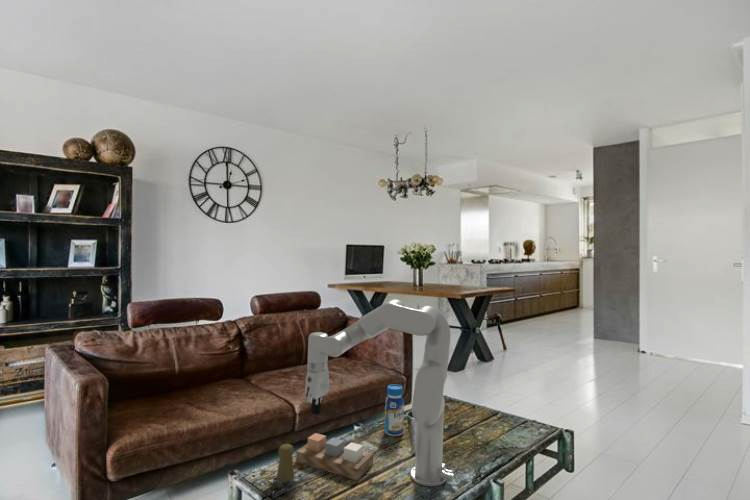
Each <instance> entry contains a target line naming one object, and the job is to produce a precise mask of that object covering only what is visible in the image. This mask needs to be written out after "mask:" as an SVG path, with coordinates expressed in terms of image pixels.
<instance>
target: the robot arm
mask: <svg viewBox="0 0 750 500" xmlns="http://www.w3.org/2000/svg"><path fill="white" fill-rule="evenodd" d="M389 329H392V330H395V331H398V332H401V333H402V332H403V333H405V334H410V335H412V336H418V337H424V336H426V339H425V344H424V353H423V360H422V363H421V365H420V367H419V368H418V370H417V373H416V376H415V381H414V389H413V396H412V403H411V414H412V416H413V418H414V421H416V422H415V456H414V457H415V463H414V465H415V466H414V467H413V468H411V470H410V478H411V479H412V481H414V482H415V483H417V484H419V485H422V486H426V487H436V486H441V485H443V484H444V483H445V482H446V481H447V480H451V481H454V479H455V478H454V477H455V473H453V470H451V469H447V468H446V463H443V456H444V455H443V453H444V452H443V451H444V449H443V447H444V417H445V402H446V401H445V396H444V390H445V389H444V388H445V383H446V380H447V378H448V366H449V357H450V356H449V355H450V345H451V328H450V324H449V322H448V320H447V318H446V316H445V315H444V313H442V312H441V311H440V310H439V309H437V308H436V307H434V306H431V305H425V306H422V307H420V308H418V309H415V308H410V307H407V306H406V305H405V304H404V302H402V301H401V300H400V299H391V300H388V301H386V302H385V303H383V304H382V305H380V306H378V307H376V308H374V309H373V310H372V311H369V312H367V313H366V314H364V315H363V316H360V318H359V319H358V320H357V321H355V322H353V324H350V325H349V326H348V327H345V328H344V329H342V330H340V331H339V332H337V333H335V334H333V335H330V336H329V335H328V333H325V332H321V331H317V332H316V331H315V332H311V333H310V334H309V335H308V341H307V342H308V343H307V345H308V346H307V371H306V378H305V383H304V384H305V386H304V395H305V398H306V402H307V403H310V404H311V405H310V406H311V409H310V413H311V414H312V415H316V416H318V415H321V409H322V408H321V406H322V404H321V403H322V401H323V396H325V395H326V394H328V393H329V392H330V375H329V367H328V360H329V357H332V358H338V357H339V356H342V354H344V353H345V352H347V351H348V350H350V349H351V348H353V347H354V346H356V345H358V344H360V343H361V342H364V341H365V340H367V339H373V338H375V337H376V336H378V335H380V334H382V333H384V332H386V331H387V330H389Z"/></svg>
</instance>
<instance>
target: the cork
mask: <svg viewBox="0 0 750 500" xmlns="http://www.w3.org/2000/svg"><path fill="white" fill-rule="evenodd" d="M277 452H278V456H279V460H278V469H277V475H276V479H277V480H278V481H279V482H281V483H282V482H283V483H287V482H291V481H292V480H294V478H295V471H294V470H295V469H294V461H293V454H294V446H293V445H292V444H289V443H284V444H281V445H280V446H279V448H278V451H277Z"/></svg>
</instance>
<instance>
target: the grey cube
mask: <svg viewBox="0 0 750 500" xmlns="http://www.w3.org/2000/svg"><path fill="white" fill-rule="evenodd" d="M344 446H345V440H343V439H341V438H336V437H331V438H330V439H329V440H328V442H326V443H325V455H328V456H332V457H335V458H338V457H339V456H340V455H341V454H343V453H344Z"/></svg>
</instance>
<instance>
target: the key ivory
mask: <svg viewBox="0 0 750 500" xmlns="http://www.w3.org/2000/svg"><path fill="white" fill-rule="evenodd" d="M363 451H364V445H362V444H358V443H355V442H350V443H349V444H347V445H346V447H345V448H344V460H346V461H349V462H353V463H356V464H357V463H358V462H359V461H360V460H361V459H362V458H363Z"/></svg>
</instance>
